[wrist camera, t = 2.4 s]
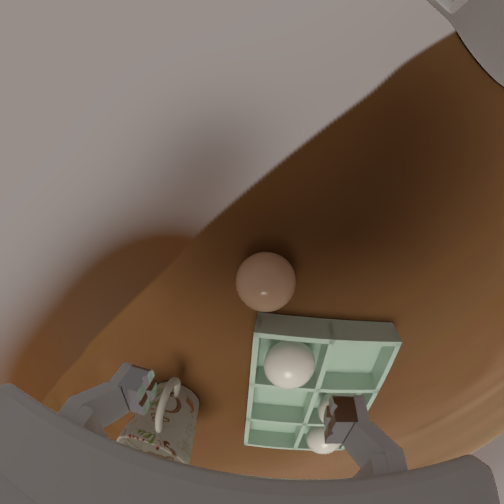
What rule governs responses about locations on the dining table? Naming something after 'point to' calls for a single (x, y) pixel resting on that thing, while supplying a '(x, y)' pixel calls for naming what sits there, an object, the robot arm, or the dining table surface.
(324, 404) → the white egg
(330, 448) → the white egg
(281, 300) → the brown egg
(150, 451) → the mug
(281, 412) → the egg tray
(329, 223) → the dining table surface
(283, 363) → the white egg
